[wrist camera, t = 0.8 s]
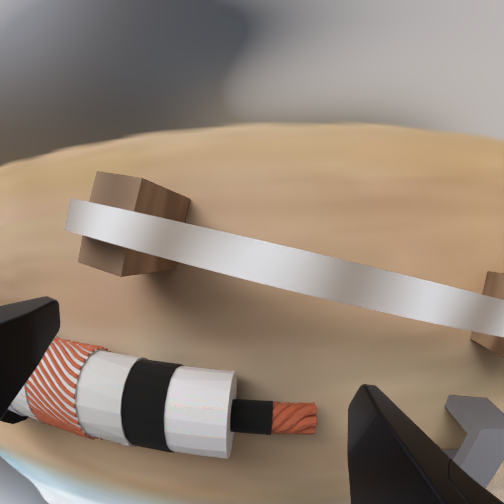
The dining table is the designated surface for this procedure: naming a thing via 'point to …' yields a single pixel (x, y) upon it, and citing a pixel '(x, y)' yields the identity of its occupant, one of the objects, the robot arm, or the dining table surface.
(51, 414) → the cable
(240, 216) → the dining table surface
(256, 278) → the arch bridge
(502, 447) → the grey u-channel block
